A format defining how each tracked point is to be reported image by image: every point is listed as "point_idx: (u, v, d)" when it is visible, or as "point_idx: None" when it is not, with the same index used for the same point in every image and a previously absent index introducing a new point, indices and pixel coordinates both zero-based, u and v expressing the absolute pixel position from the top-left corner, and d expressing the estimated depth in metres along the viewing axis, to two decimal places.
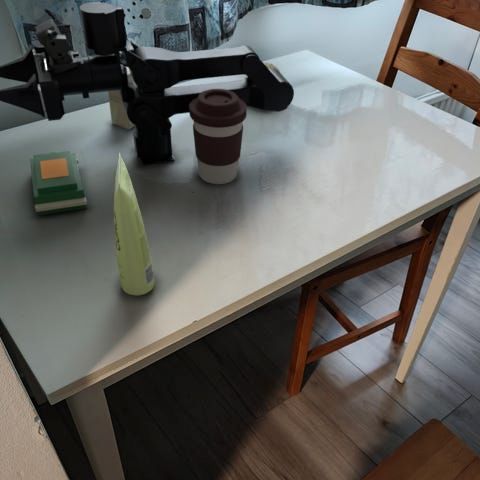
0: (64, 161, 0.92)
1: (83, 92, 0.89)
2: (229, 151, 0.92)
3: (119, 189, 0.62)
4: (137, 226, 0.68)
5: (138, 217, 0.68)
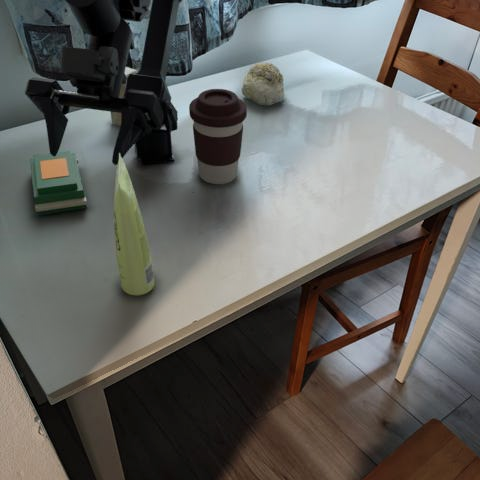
0: (64, 161, 0.92)
1: (123, 78, 0.77)
2: (229, 151, 0.92)
3: (119, 189, 0.62)
4: (137, 226, 0.68)
5: (138, 217, 0.68)
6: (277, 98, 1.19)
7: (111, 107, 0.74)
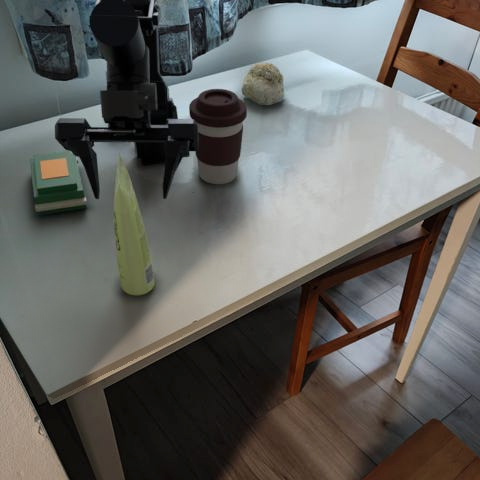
0: (64, 161, 0.92)
1: None
2: (229, 151, 0.92)
3: (119, 189, 0.62)
4: (137, 225, 0.68)
5: (138, 217, 0.68)
6: (277, 98, 1.19)
7: (148, 138, 0.71)
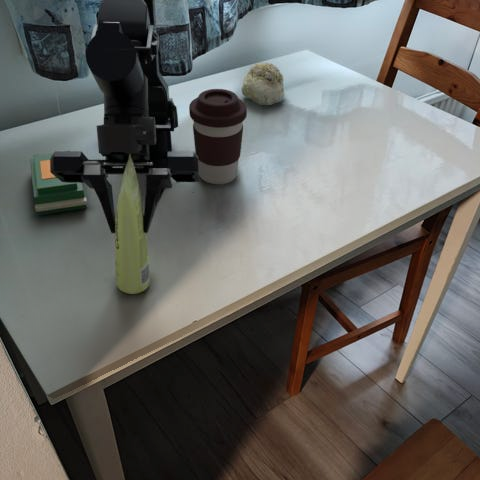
0: None
1: None
2: (229, 151, 0.92)
3: (124, 192, 0.62)
4: (138, 228, 0.68)
5: (140, 219, 0.67)
6: (277, 98, 1.19)
7: None
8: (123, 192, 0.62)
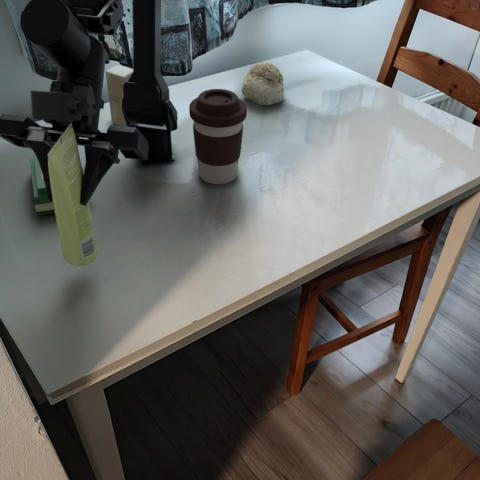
0: None
1: (101, 104, 0.70)
2: (229, 151, 0.92)
3: (48, 160, 0.61)
4: (72, 199, 0.67)
5: (75, 191, 0.67)
6: (277, 98, 1.19)
7: None
8: (48, 160, 0.61)
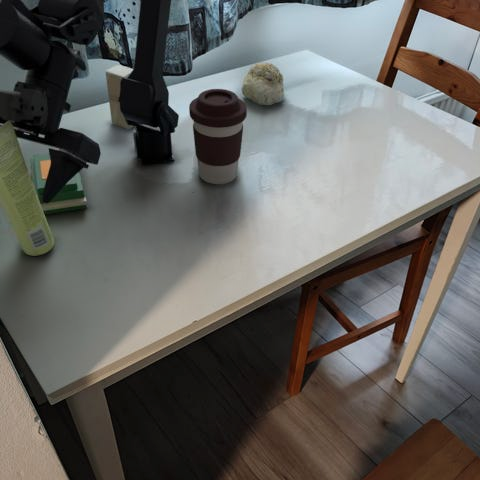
0: None
1: (65, 107, 0.74)
2: (229, 151, 0.92)
3: None
4: (8, 190, 0.72)
5: (11, 183, 0.72)
6: (277, 98, 1.19)
7: (46, 142, 0.72)
8: None
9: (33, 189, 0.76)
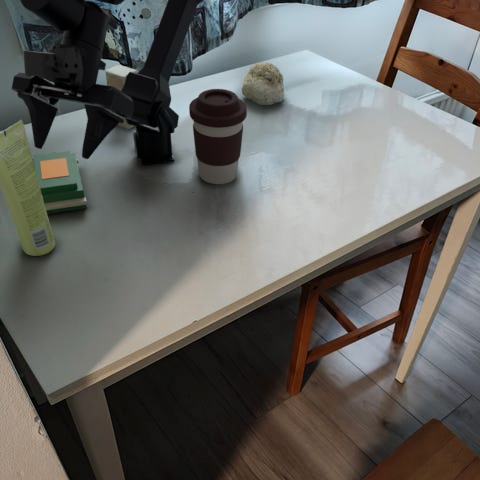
0: (64, 161, 0.92)
1: (100, 66, 0.78)
2: (229, 151, 0.92)
3: None
4: (15, 188, 0.73)
5: (19, 181, 0.73)
6: (277, 98, 1.19)
7: (83, 100, 0.77)
8: None
9: (39, 189, 0.77)
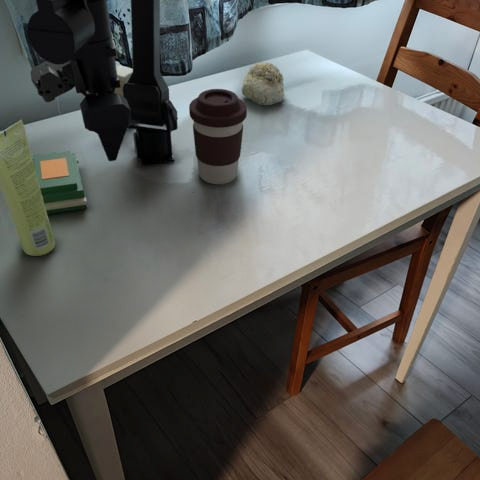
0: (64, 161, 0.92)
1: (108, 55, 0.69)
2: (229, 151, 0.92)
3: None
4: (15, 188, 0.73)
5: (19, 181, 0.73)
6: (277, 98, 1.19)
7: None
8: None
9: (39, 189, 0.77)
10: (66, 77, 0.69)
